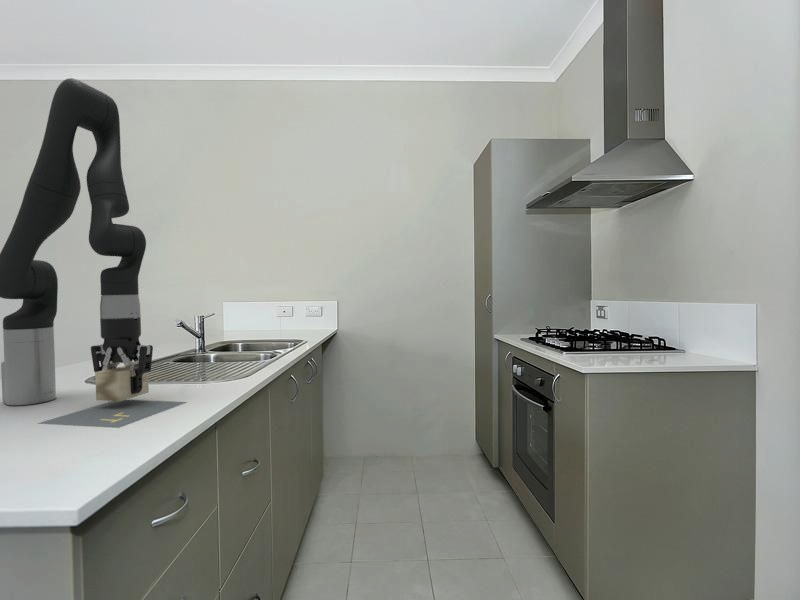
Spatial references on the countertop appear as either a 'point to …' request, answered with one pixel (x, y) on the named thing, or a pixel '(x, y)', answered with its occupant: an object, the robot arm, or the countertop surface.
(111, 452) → the countertop surface
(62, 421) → the grey mat
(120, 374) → the beech block
